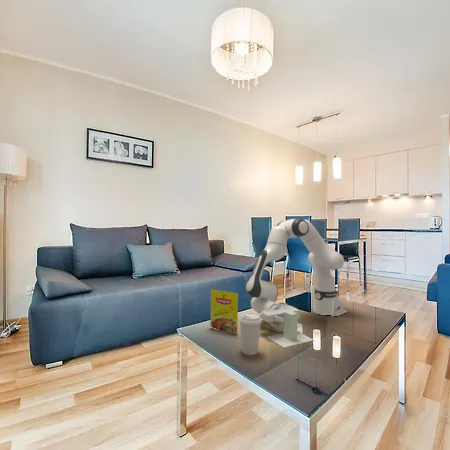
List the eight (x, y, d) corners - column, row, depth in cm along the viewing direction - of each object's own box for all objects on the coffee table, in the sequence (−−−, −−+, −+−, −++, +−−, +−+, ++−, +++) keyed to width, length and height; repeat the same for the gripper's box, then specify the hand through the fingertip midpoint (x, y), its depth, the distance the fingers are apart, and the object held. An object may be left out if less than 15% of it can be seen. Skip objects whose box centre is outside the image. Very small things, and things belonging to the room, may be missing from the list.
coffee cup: (234, 348, 112) (235, 313, 113) (253, 344, 116) (254, 311, 116) (244, 358, 104) (245, 320, 104) (265, 354, 107) (266, 317, 108)
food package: (209, 328, 134) (210, 289, 134) (210, 327, 135) (211, 289, 135) (236, 334, 127) (237, 293, 127) (237, 334, 128) (238, 293, 128)
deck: (280, 321, 147) (280, 314, 147) (295, 328, 136) (296, 321, 136) (263, 324, 141) (263, 317, 141) (277, 332, 131) (277, 324, 131)
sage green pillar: (289, 335, 126) (290, 310, 126) (297, 339, 122) (297, 313, 122) (283, 337, 124) (283, 311, 124) (290, 341, 120) (291, 314, 120)
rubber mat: (295, 331, 132) (295, 330, 132) (313, 340, 122) (313, 339, 122) (266, 337, 124) (266, 336, 124) (283, 348, 113) (283, 347, 113)
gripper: (256, 307, 130) (273, 315, 118) (287, 302, 140) (307, 309, 127) (255, 319, 130) (273, 329, 118) (287, 314, 139) (306, 322, 127)
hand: (291, 319), depth 123 cm, fingers open, 8 cm apart
